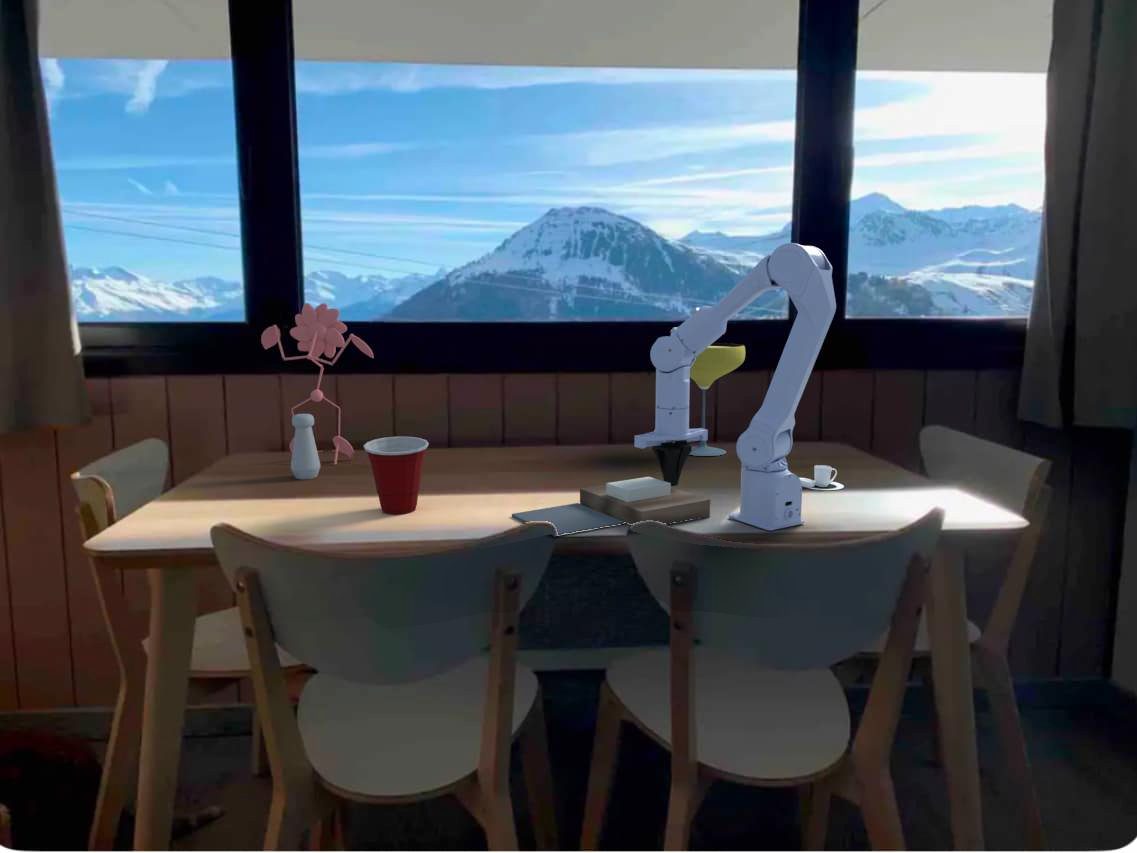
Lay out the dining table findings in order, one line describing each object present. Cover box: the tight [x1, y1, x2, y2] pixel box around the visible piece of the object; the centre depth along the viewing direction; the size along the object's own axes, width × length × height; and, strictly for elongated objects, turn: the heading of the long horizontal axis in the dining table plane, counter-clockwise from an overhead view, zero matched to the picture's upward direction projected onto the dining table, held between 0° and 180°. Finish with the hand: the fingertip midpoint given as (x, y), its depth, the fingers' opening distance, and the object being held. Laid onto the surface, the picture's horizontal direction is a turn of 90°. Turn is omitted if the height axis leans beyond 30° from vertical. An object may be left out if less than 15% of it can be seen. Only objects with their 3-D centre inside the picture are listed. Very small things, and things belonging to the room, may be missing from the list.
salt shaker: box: [290, 413, 321, 481], centre depth 163 cm, size 6×6×13 cm
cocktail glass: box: [689, 342, 746, 457], centre depth 186 cm, size 18×18×25 cm
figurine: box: [260, 302, 375, 466], centre depth 180 cm, size 15×26×35 cm, turn 84°
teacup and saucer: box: [799, 464, 845, 491], centre depth 155 cm, size 9×8×4 cm
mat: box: [511, 502, 625, 535], centre depth 132 cm, size 14×13×1 cm
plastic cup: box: [363, 436, 430, 515], centre depth 137 cm, size 11×11×12 cm
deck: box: [579, 484, 711, 524], centre depth 137 cm, size 18×14×3 cm
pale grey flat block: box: [605, 476, 672, 502], centre depth 136 cm, size 9×6×2 cm, turn 122°
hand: (671, 484), depth 140 cm, fingers closed
